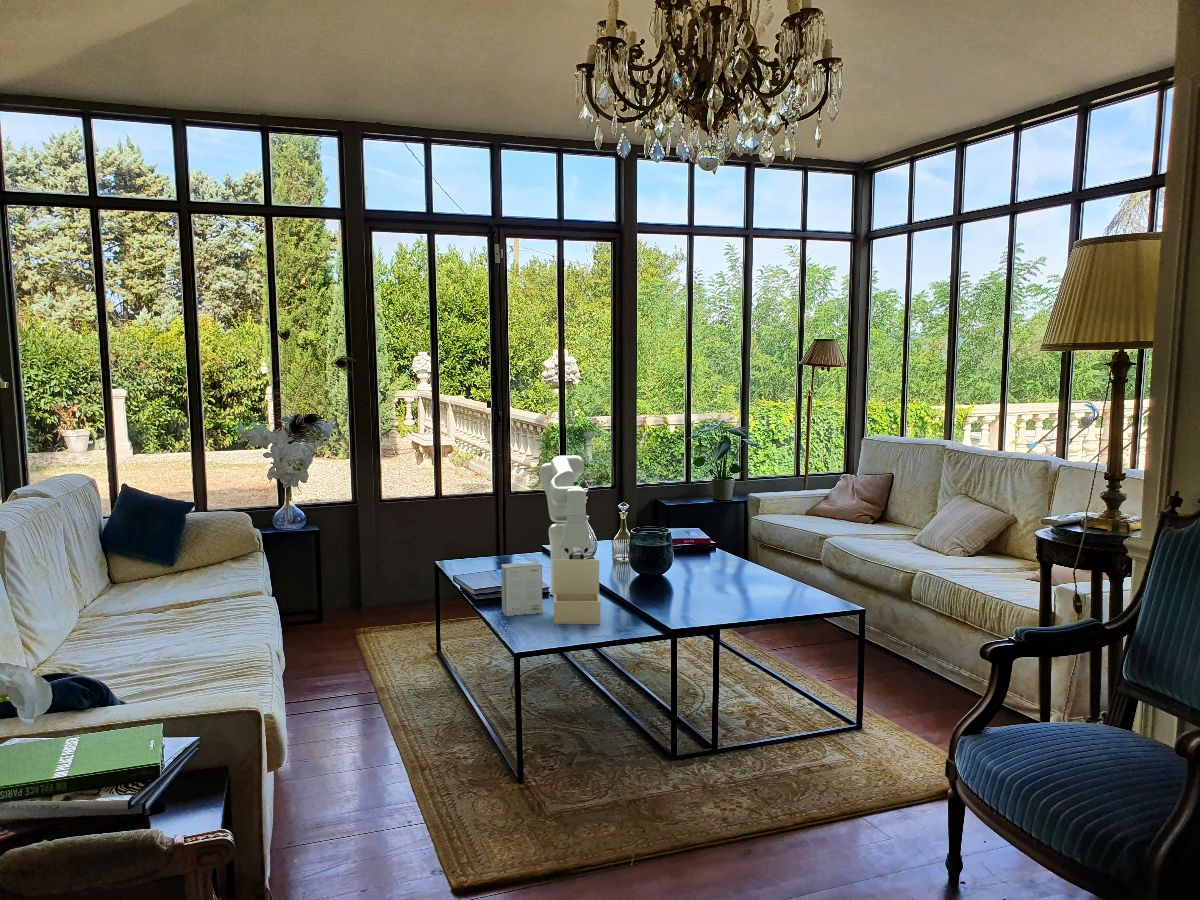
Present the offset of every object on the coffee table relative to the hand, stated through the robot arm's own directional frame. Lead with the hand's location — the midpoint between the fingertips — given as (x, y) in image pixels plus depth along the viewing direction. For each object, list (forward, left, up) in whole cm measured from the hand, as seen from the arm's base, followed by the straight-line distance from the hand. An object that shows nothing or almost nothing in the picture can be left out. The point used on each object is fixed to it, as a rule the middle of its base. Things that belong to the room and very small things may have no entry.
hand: (576, 563), depth 343 cm
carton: (+12, 0, -20) cm, 23 cm away
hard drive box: (+1, -22, -20) cm, 30 cm away
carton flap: (+6, 0, -4) cm, 7 cm away
